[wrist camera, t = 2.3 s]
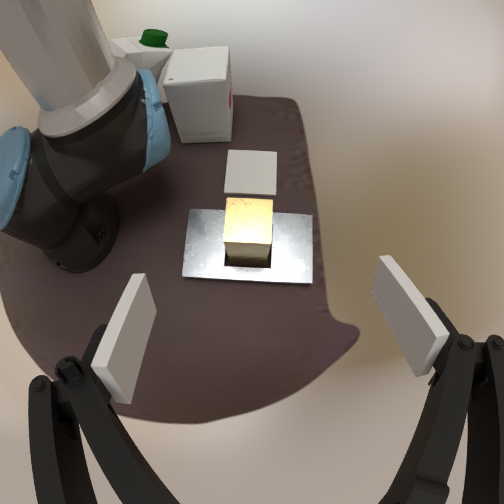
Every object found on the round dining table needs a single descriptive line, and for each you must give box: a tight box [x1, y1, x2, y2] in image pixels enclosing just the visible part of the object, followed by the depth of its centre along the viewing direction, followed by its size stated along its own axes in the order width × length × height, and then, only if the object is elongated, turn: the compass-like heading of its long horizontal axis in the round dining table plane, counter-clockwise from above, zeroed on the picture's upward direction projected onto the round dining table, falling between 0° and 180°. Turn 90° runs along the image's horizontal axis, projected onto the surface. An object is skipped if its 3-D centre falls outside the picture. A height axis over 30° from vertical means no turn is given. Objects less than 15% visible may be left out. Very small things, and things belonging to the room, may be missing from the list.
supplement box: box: [163, 46, 233, 143], centre depth 41 cm, size 9×9×15 cm
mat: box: [224, 150, 277, 197], centre depth 45 cm, size 8×8×1 cm
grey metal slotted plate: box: [182, 209, 312, 285], centre depth 41 cm, size 18×10×2 cm, turn 87°
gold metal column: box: [223, 198, 273, 266], centre depth 37 cm, size 5×5×12 cm
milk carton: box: [110, 29, 173, 84], centre depth 38 cm, size 9×9×20 cm
